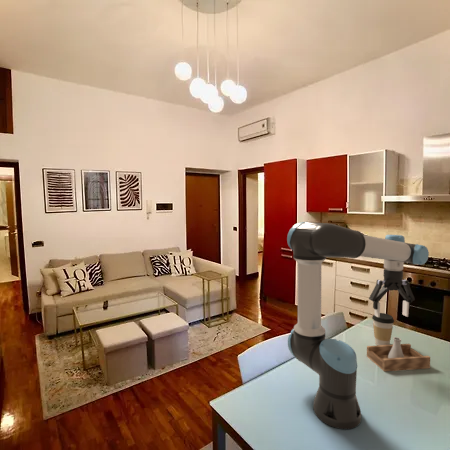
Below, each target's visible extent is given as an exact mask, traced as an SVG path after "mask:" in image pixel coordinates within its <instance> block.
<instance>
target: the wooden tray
mask: <svg viewBox="0 0 450 450" xmlns="http://www.w3.org/2000/svg"><path fill="white" fill-rule="evenodd" d="M400 344H401V349H402V352H403V355H404V357H402V358H388V354H389V353H390V351H391V349H392V347H393V344H389V345H367V346H366V358H368V359H369V360H370V361H371V362H372V363H374V364H375V365H376V366H377V367H378V368H379V369H380V370H382V371H383V372H395V371H396V372H397V371H410V370H412V371H413V370H422V369H423V370H426V369H431V356H429V355H423V354H421V353H420V352H418V351H416V350H415V349H414V348H412V344H410V343H400Z"/></svg>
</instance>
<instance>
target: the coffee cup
mask: <svg viewBox="0 0 450 450" xmlns="http://www.w3.org/2000/svg"><path fill="white" fill-rule="evenodd" d="M371 319H372V320H373V323H372V325H373V336H374V343H375V346H377V345H391V344H390V343H391V339H392V333H393V328H394V327H393V326H394V323H395V319H394V317H393V316H392V315H391V314H387V313H386V312H385V313H384V312H380V317H376V316H375V315H374V314H373V315H372V317H371Z"/></svg>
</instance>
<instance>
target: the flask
mask: <svg viewBox="0 0 450 450" xmlns="http://www.w3.org/2000/svg"><path fill="white" fill-rule="evenodd" d="M401 342H402V338H401V337H397V336H393V344H392V345H393V347H392V349H391V351H390V353H389V354H388V358H402V357H404V355H403V352H402V349H401V344H402V343H401Z"/></svg>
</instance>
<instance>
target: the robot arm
mask: <svg viewBox="0 0 450 450" xmlns="http://www.w3.org/2000/svg"><path fill="white" fill-rule="evenodd" d="M286 241H287V245H288V247H289V248H290V250H292V252H293V253H292V254H293V259H294V261H296V263H297V323H296V324H294V325H293V328H292V329H291V331H290V334H289V335H288V336H287V347H288V350H289V352H290V353H291V355H292V356H293V357H295V359H296V360H298V361H299V362H301V363H302V364H304V366H306V367H308V368H309V369H311V371H313V372H315V373H316V374H317V375H319V378H318V382H319V383H318V385H319V386H318V389H317V391H316V394H315V396H314V399H313V407H312V408H313V412H314V414H315V416H316V417H317V418H318V419H319V420H320V421H322V422H323V423H324V424H326V425H328V426H329V427H333V428H335V429H339V430H351V429H355V428H357V427H358V426H359V425H360V423H361V420H362V413H361V412H362V411H361V407H360V404H359V401H358V398H357V375H358V373H357V371H358V361H357V360H358V359H357V354H356V351H355V350H354V348H353V347H352V346H351V345H350V344H348V343H346V342H344V341H342V340H337V339H335V338H326V329H325V327H324V326H323V325H322V263H323V262H324V261H326V260H327V258H338V259H339V258H345V259H357V258H360V257H362V258H370V259H379V260H383V274H382V275H383V280H380V279H376V284H375V286H374V288H373V289H372V292H371V294H370V295H369V297H368V299H369V300H370V301H372V303H373V304H372V308H373V309H374V310H373V311H374V312H373V315H375V316H376V317H380V313H381V302H380V301H381V300H382V299H383V297H384V296H385V295H386V294H387V293H388V292H389V291H397V292H398V293H399V294H400V295H401V297H402V298H403V299H404V300H402V312H401V313H402V314H401V315H403V316H405V317H407V318H408V317H409V309H411V303H413V301H415V300H416V299H415V296H414V294H413V291H412V289H411V287H410V286H411V285H410V281H409V280H407V279H406V278H405V279H404V271H403V270H404V263H407V264H413V265H421V266H422V265H425V263H427V261H428V259H429V255H430V252H429V249H428V247H427V246H425V245H422V244H418V243H416V244H415V243H408V242H405V241H406V240H405V236H404V235H401V234H386V235H385V238H383V237H378V236H371V235H366V234H363V233H362V232H361V231H360V230H355V229H351V228H348V227H344V226H342V225H337V224H333V223H327V222H325V223H324V222H314V221H300V222H297V223H295V224H294V225H292V227H291V228H290V229H289V231H288V233H287V237H286ZM402 286H403V287H402Z"/></svg>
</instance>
